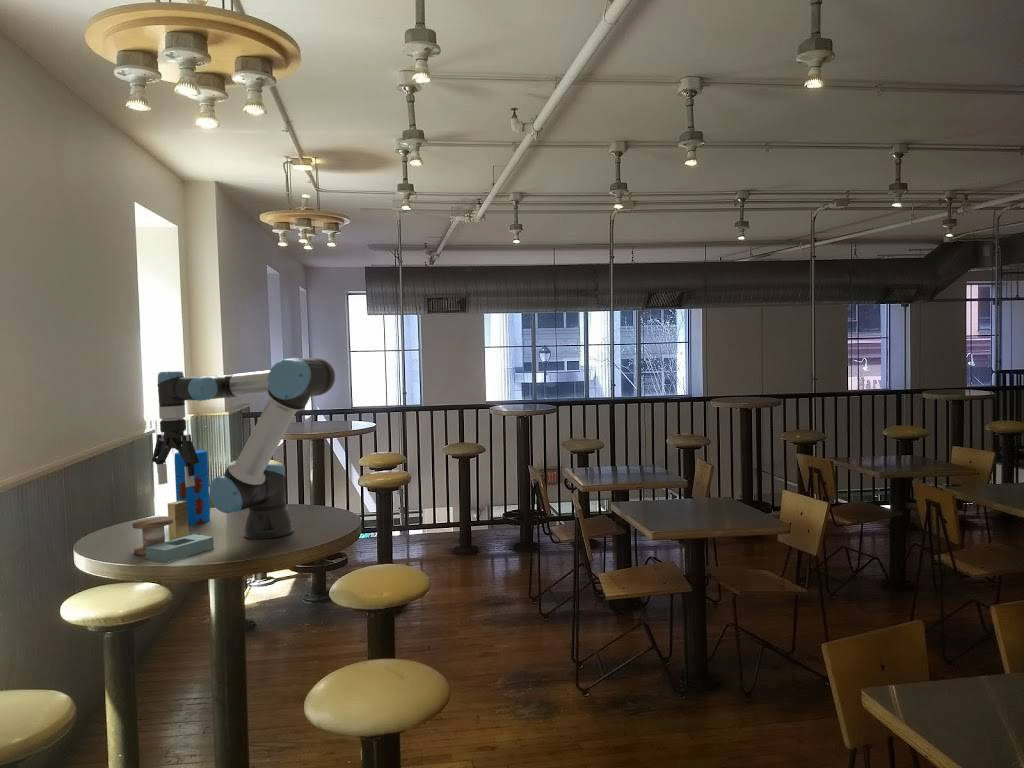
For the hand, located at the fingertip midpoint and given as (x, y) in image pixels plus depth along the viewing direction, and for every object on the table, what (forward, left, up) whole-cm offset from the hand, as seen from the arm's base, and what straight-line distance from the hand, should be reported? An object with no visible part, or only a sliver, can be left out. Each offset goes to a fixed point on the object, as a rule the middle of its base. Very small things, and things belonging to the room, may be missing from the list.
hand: (176, 485), depth 225 cm
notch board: (-16, +11, -18) cm, 26 cm away
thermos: (+18, -19, -18) cm, 31 cm away
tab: (0, 0, -18) cm, 18 cm away
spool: (-5, +12, -18) cm, 22 cm away
